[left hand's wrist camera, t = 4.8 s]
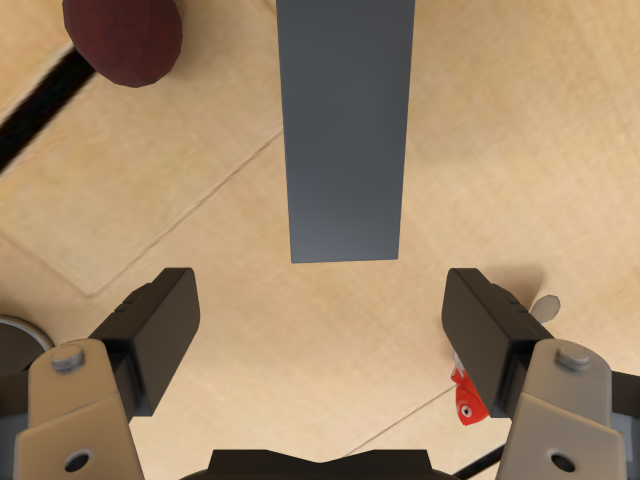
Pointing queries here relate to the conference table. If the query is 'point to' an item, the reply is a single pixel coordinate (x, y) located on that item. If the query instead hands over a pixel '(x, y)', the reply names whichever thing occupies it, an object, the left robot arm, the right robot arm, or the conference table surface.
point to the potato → (126, 37)
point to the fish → (466, 394)
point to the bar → (344, 124)
